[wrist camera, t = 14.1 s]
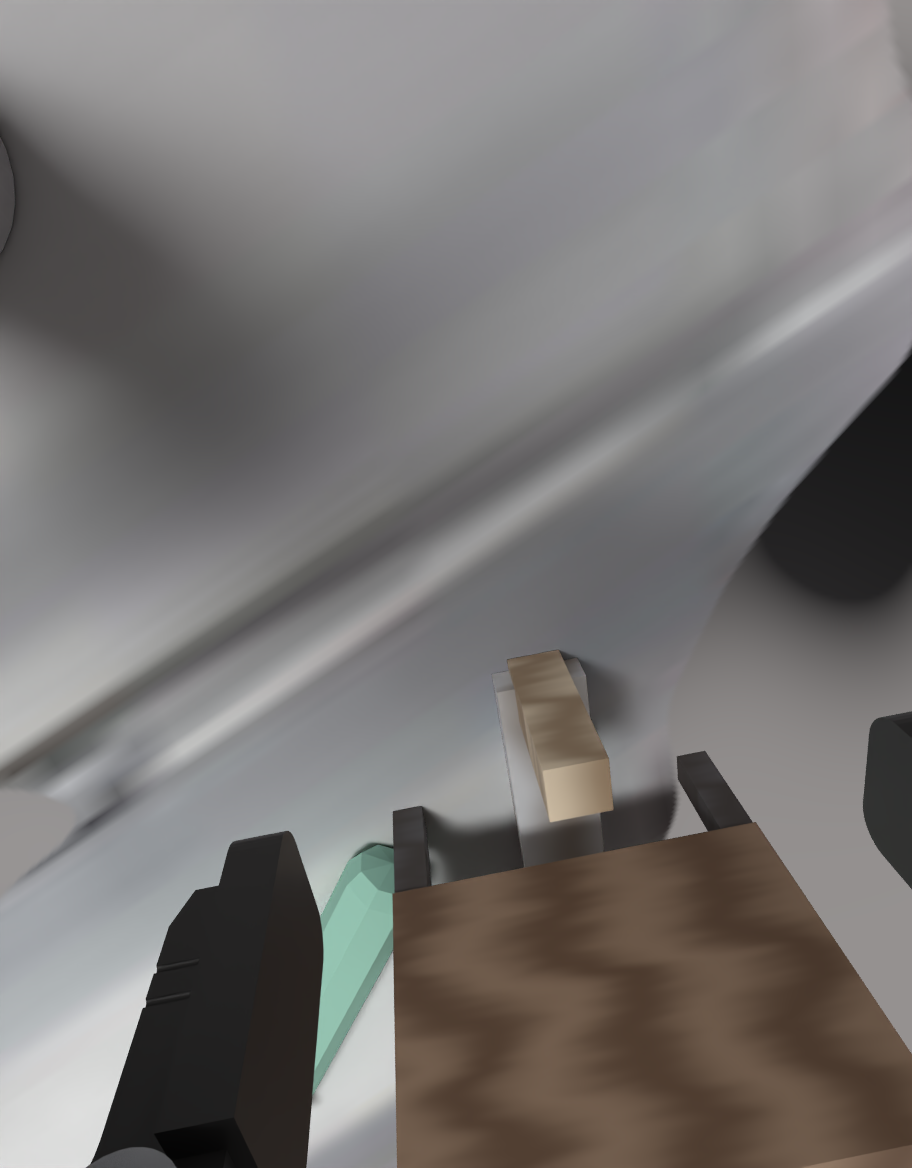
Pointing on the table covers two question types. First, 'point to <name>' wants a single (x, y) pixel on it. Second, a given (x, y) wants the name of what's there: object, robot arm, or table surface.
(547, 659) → the plank with tan block
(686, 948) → the walnut cabinet
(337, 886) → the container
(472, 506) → the table surface
